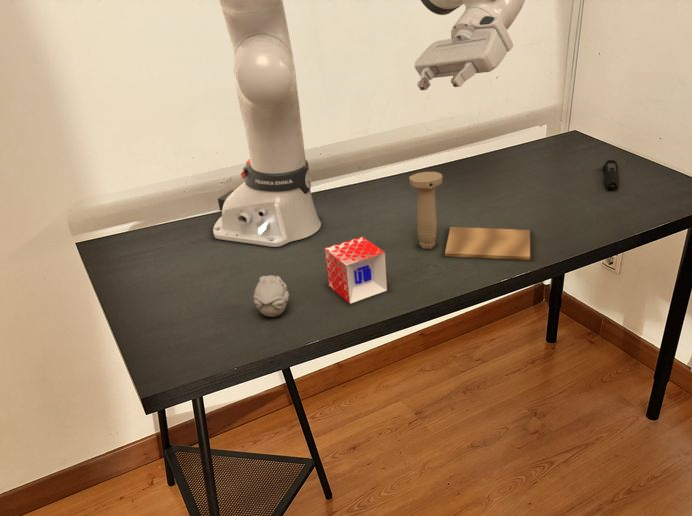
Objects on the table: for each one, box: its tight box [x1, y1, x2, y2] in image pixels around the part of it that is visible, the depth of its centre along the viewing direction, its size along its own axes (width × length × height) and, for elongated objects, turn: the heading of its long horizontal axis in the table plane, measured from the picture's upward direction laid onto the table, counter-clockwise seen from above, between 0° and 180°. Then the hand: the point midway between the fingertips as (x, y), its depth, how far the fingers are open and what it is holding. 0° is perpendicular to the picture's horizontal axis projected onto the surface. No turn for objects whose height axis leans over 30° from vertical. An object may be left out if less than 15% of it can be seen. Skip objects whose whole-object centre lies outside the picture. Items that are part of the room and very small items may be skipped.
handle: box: [408, 171, 443, 250], centre depth 144 cm, size 5×6×15 cm
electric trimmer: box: [602, 159, 620, 190], centre depth 176 cm, size 4×16×3 cm, turn 171°
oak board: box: [444, 226, 531, 261], centre depth 148 cm, size 17×12×1 cm
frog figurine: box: [253, 274, 290, 318], centre depth 125 cm, size 6×7×7 cm
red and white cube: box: [324, 236, 388, 305], centre depth 132 cm, size 8×8×8 cm
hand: (437, 85), depth 137 cm, fingers open, 8 cm apart
